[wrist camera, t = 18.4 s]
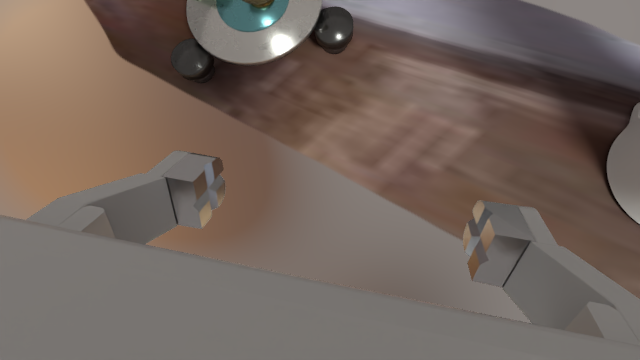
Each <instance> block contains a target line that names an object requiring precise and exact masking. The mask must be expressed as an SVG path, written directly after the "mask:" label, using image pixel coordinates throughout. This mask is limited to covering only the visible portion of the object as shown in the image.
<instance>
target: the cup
mask: <svg viewBox="0 0 640 360" xmlns="http://www.w3.org/2000/svg"><path fill="white" fill-rule="evenodd" d="M242 1H244V2H246V3H249V4H251V5H252V6H253V7H254V8H256V9H260V10H263V9H267V8H269V7H270V6H272V5H273V3H274V1H275V0H242Z"/></svg>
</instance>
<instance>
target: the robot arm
mask: <svg viewBox="0 0 640 360" xmlns="http://www.w3.org/2000/svg"><path fill="white" fill-rule="evenodd" d="M222 171H223V164H222V160H221V159H220V158H217V157H212V156H207V155H201V154H196V153H190V152H185V151H173V152H172V153H171V154H170V155H169V156H167V157H166V158H165V159H163V160H162V161H161V162H160V163H159V164H157V165H156V166H155V167H154V168H152V169H151V170H150V171H149V172H147V173H146V174H142V173H140V174H137V175H134V176H130V177H127V178H124V179H120V180H117V181H114V182H111V183H107V184H104V185H100V186H97V187H94V188H90V189H87V190H84V191H80V192H77V193H73V194H70V195H67V196H64V197H60V198H57V199H56V200H55V201H53V202H52V203H50V204H49V205H47V206H46V207H44V208H43V209H41V210H40V211H38V212H37V213H35V214H34V215H32V216H31V217H29V218H28V219H27V220H23V219H18V218H13V217H8V216H3V215H0V360H640V299H638V298H637V297H636V296H634V295H633V294H631V293H630V292H628V291H627V290H626V289H624V288H623V287H621V286H620V285H618V284H617V283H615V282H614V281H613V280H611V279H610V278H608V277H607V276H605V275H604V274H602V273H601V272H600V271H598V270H597V269H595V268H594V267H592V266H591V265H589V264H588V263H587V262H585V261H584V260H582V259H581V258H579V257H578V256H576V255H575V254H574V253H572V252H571V251H569V250H568V249H566V248H565V247H561V246H558V245H557V243H556V241H555V240H554V238H553V236H552V235H551V233H550V231H549V230H548V228H547V226H546V225H545V223H544V221H543V220H542V218H541V216H540V215H539V213H538V211H537V210H536V209H534V208H533V207H525V206H517V205H508V204H501V203H494V202H487V201H480V200H478V202H477V203H476V204H475V206H474V208H473V215H474V219H472V220H470V221H469V222H467V225H466V228H465V230H464V236H463V246H464V251H465V253H466V254H467V255H468V256H469V257H470V259H469V261H468V263H467V264H468V268H469V272H470V276H471V279H472V281H475V282H479V283H484V284H489V285H493V286H498V287H502V288H503V290H504V291H505V292H506V294H507V295H508V296H509V297H510V298H511V299H512V301H513V302H514V303H515V304H516V305H517V306H518V307H519V309H520V310H521V311H522V312H523V313H524V315H525V316H526V317H527V318H528V319H529V320H530V322H531V323H532V324H531V323H527V322H521V321H516V320H511V319H506V318H502V317H497V316H492V315H486V314H482V313H477V312H472V311H467V310H463V309H458V308H452V307H448V306H443V305H438V304H433V303H428V302H423V301H419V300H414V299H409V298H404V297H399V296H394V295H390V294H385V293H380V292H375V291H370V290H365V289H360V288H355V287H350V286H346V285H340V284H336V283H330V282H326V281H321V280H316V279H311V278H306V277H301V276H296V275H291V274H286V273H281V272H276V271H272V270H267V269H262V268H257V267H252V266H247V265H242V264H238V263H232V262H228V261H223V260H218V259H213V258H208V257H203V256H198V255H194V254H188V253H184V252H179V251H174V250H169V249H164V248H159V247H155V246H149V245H145V244H146V243H148V242H150V241H152V240H153V239H155V238H157V237H159V236H160V235H162V234H164V233H166V232H167V231H169V230H171V229H172V228H174V227H176V226H177V225H182V226H188V227H194V228H200V229H202V228H203V227H204V225H205V224H206V223H207V222H208V220H209V219H210V218H211V216H212V212H211V210H213V209H215V208H217V207H219V205H220V204H221V203H222V201H223V198H224V195H225V180H224V179H223V178H222V177H221V175H220V173H221V172H222ZM607 176H608V181H609V184H610V187H611V190H612V192H613V194H614V196H615V198H616V200H617V201H618V203H619V204H620V206H621V207H622V208H623V209H624V211H625V212H626V213H627V214H628V215H629V216H630V217H631V218H632V219H634V220H635V221H636V222H637V223H639V224H640V102H639V103H637V104H636V105H635V107H634V109H633V111H632V114H631V118H630V122H629V124H628V126H627V127H626V128H625V129H624V130H623V131H622V132H621V133H620V135H619V136H618V137H617V138H616V139H615V141H614V143H613V144H612V146H611V149H610V151H609V154H608V159H607Z"/></svg>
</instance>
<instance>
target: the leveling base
mask: <svg viewBox="0 0 640 360" xmlns="http://www.w3.org/2000/svg"><path fill="white" fill-rule="evenodd" d="M321 9H322V0H275V1H274V3H273V5H272V6H270V7H269V8H267V9H263V10H260V9H256V8H254V7H253V6H252V5H251V4H249V3H246V2H244V1H242V0H187V6H186V11H187V20H188V24H189V27H190V30H191V32H192V33H193V35H194V37H195V38H196V39H187V40H184V41H182V42H180V43H179V44H178V45H177V46H176V47H175V48H174V50H173V52H172V55H171V62H172V65H173V67H174V68H175V69H176V70H177V71H178V72H179V73H180V74H181V75H182V76H183V77H184V78H186V79H188V80H193V81H195V82H197V83H205V82H208V81H209V80H210V79H211V78H212V77H213V76H214V73H215V67H214V58H213V56H214V57H215V58H217V59H219V60H221V61H224V62H227V63H230V64H235V65H243V66H254V65H261V64H266V63H270V62H273V61H276V60H278V59H281V58H283V57H285V56H286V55H288V54H290V53H291V52H293V51H294V50H296V49H297V48H298V47H299V46H300V45H301V44H303V43H304V42H305V40H306V39H307V38H308V37H309V36H310V34H311V33H312V31H313V30H314V31H315V37H316V40H317V42H318V43H319V44H320V45H321V46H322V47H323V49H324V50H325V51H326V52H328V53H330V54H338V53H341V52H342V51H344V50H345V48H346V47H347V44H348V43H349V42H350V41H351V39H352V36H353V19H352V16H351V14H350V13H349V12H348V11H347V10H345V9H343V8H341V7H328V8H326V9H324V10H322V11H321Z"/></svg>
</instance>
